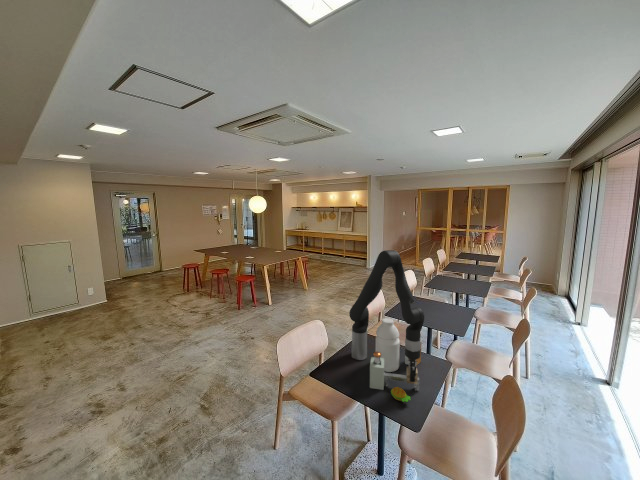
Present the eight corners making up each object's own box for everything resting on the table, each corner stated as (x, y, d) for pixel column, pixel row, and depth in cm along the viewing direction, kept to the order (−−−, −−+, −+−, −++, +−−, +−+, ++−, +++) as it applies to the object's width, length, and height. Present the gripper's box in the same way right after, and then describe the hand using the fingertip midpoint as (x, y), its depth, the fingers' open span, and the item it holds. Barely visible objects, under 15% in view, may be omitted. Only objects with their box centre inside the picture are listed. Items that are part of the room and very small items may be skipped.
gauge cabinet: (369, 387, 139) (369, 366, 137) (371, 377, 147) (371, 356, 146) (383, 390, 137) (383, 368, 136) (384, 379, 146) (384, 358, 144)
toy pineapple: (396, 391, 136) (397, 381, 135) (413, 403, 128) (414, 392, 127) (387, 397, 132) (387, 387, 131) (404, 409, 124) (404, 398, 123)
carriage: (407, 383, 136) (407, 372, 135) (406, 377, 140) (406, 366, 139) (417, 384, 134) (417, 373, 134) (416, 378, 139) (416, 367, 138)
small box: (414, 368, 155) (415, 346, 154) (404, 363, 160) (405, 343, 158) (421, 362, 161) (421, 341, 159) (411, 358, 165) (411, 338, 164)
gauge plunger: (373, 371, 140) (373, 355, 139) (373, 366, 144) (373, 351, 143) (380, 372, 139) (381, 355, 138) (381, 367, 143) (381, 351, 142)
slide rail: (383, 385, 140) (383, 375, 139) (383, 382, 143) (384, 372, 142) (419, 391, 136) (419, 380, 135) (418, 388, 138) (418, 377, 137)
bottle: (397, 359, 164) (397, 315, 161) (401, 373, 151) (402, 325, 147) (373, 358, 166) (374, 315, 162) (376, 371, 152) (376, 325, 149)
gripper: (404, 339, 143) (403, 368, 145) (405, 353, 129) (405, 386, 131) (419, 340, 141) (418, 370, 143) (422, 355, 127) (421, 388, 129)
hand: (411, 377), depth 137 cm, fingers closed on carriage, 5 cm apart
